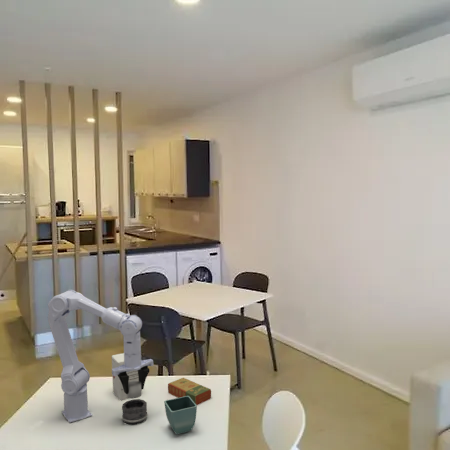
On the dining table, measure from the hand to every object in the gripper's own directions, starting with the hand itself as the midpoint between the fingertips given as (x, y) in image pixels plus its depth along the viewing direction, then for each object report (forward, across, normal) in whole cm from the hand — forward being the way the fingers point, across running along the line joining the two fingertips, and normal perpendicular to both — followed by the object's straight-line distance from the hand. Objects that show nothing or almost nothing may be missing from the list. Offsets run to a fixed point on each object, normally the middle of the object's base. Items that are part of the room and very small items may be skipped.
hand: (133, 390), depth 155 cm
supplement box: (+10, +6, +20) cm, 23 cm away
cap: (+2, 0, 0) cm, 2 cm away
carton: (+11, +24, +3) cm, 27 cm away
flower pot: (+10, +9, -16) cm, 21 cm away
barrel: (+10, 0, 0) cm, 10 cm away
